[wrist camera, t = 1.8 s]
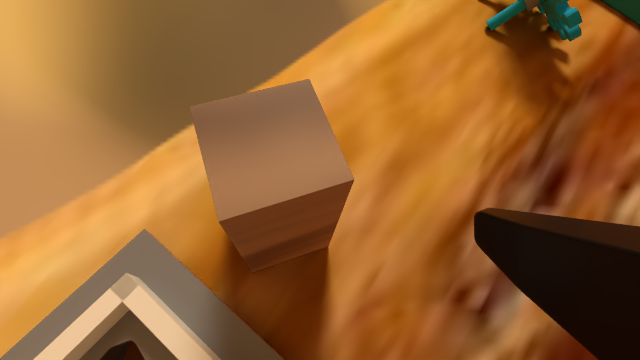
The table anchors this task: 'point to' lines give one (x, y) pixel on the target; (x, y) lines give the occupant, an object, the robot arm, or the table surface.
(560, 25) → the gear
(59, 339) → the socket plate
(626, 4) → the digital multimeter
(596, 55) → the table surface
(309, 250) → the block
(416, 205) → the table surface
